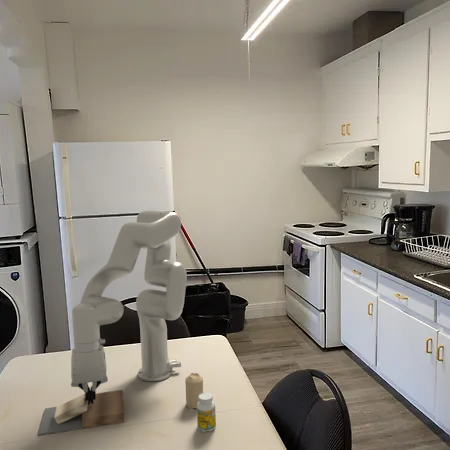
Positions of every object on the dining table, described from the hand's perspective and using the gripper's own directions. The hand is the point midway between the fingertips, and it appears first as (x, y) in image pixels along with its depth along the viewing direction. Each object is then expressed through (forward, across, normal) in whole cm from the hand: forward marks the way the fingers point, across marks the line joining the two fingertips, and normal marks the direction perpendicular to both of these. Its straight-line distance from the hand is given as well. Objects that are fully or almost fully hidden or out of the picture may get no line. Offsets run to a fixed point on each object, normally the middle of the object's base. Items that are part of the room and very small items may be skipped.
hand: (90, 401), depth 134 cm
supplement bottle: (+4, -33, +17) cm, 37 cm away
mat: (+4, +8, 0) cm, 9 cm away
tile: (+1, +6, 0) cm, 6 cm away
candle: (+4, -32, +4) cm, 32 cm away
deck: (+4, -4, 0) cm, 6 cm away
